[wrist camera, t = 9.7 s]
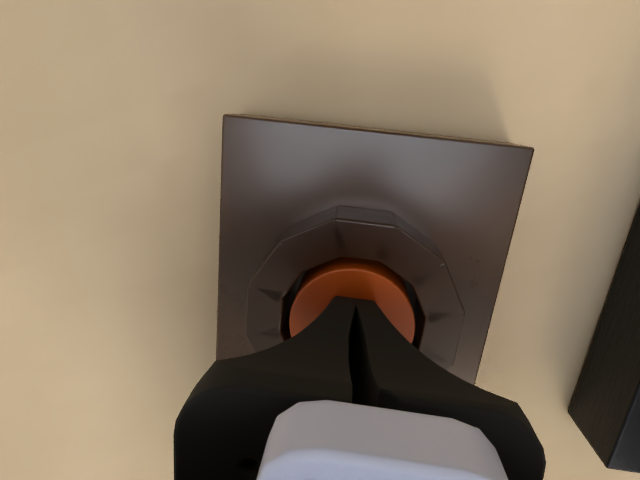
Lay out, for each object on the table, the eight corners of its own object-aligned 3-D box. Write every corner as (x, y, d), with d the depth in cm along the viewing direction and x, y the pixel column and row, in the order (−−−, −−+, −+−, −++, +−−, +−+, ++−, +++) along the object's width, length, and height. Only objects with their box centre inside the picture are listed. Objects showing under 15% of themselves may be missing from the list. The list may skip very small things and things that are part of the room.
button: (399, 359, 15) (403, 389, 13) (292, 344, 15) (284, 372, 14) (417, 258, 14) (425, 277, 12) (301, 243, 14) (293, 260, 12)
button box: (446, 414, 18) (469, 492, 15) (229, 382, 19) (197, 449, 15) (511, 142, 15) (563, 153, 11) (240, 113, 15) (201, 113, 12)
